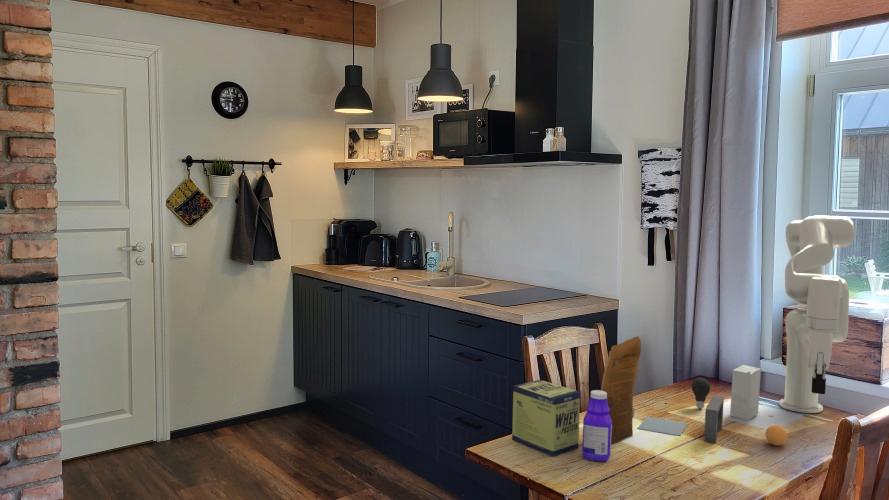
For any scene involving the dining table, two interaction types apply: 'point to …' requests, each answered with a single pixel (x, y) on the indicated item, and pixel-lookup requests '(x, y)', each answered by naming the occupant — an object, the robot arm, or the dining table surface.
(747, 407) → the skincare box
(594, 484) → the dining table surface
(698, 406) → the light bulb
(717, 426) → the bridge
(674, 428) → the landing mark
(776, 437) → the ball
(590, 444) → the bottle
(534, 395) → the protein box
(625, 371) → the pancake mix bag
